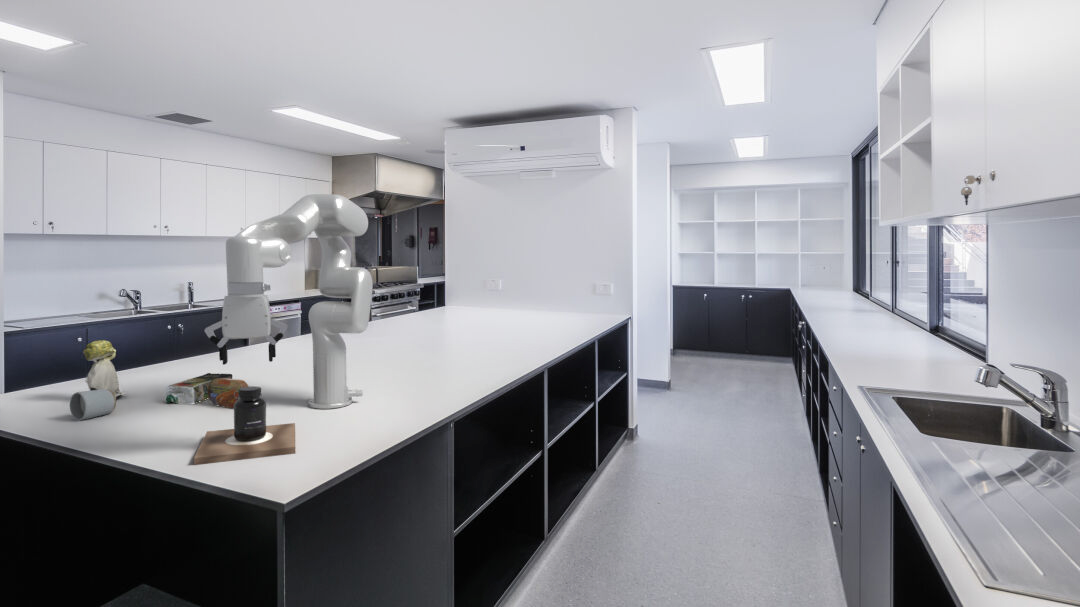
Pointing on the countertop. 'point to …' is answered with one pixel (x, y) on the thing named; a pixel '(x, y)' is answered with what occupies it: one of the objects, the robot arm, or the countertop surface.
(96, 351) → the beige figurine with hat
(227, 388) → the tin
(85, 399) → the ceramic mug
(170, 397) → the juice carton
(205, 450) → the walnut board
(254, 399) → the supplement bottle
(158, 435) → the countertop surface
